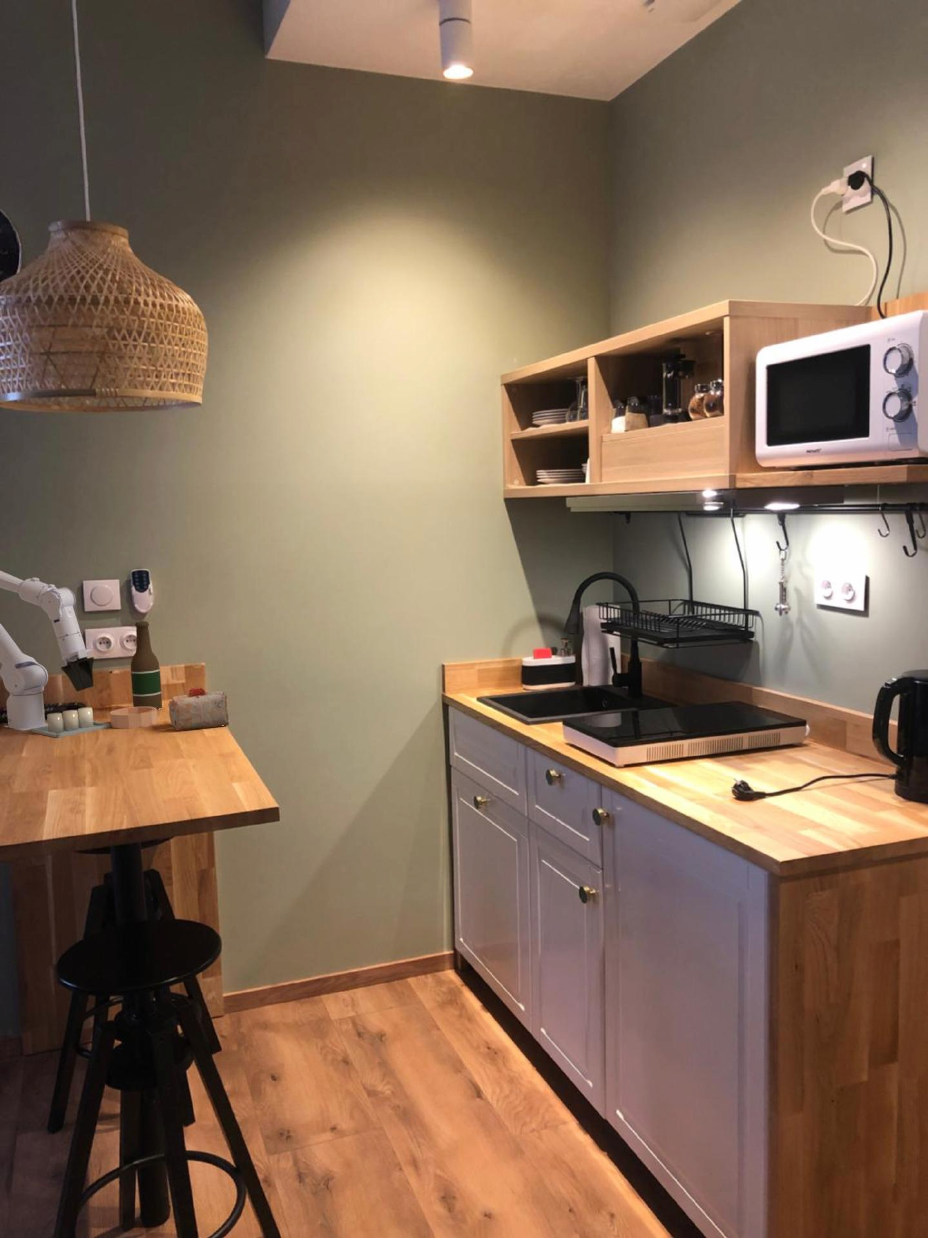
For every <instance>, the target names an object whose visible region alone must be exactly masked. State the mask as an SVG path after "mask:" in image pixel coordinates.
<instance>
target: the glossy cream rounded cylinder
mask: <svg viewBox="0 0 928 1238" xmlns="http://www.w3.org/2000/svg"><path fill="white" fill-rule="evenodd" d="M62 720H63V724H64V731H73V730H77V729H79V726H78V720H79V719H78V709H70V710H64V711H62Z"/></svg>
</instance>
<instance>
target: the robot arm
mask: <svg viewBox="0 0 928 1238" xmlns="http://www.w3.org/2000/svg"><path fill="white" fill-rule="evenodd" d="M0 589H2V590H7V591H10V592H13V593H16V594H18V595H19V598H20V599H21V600H22V601H24V602H28V603H30V604H32V605H34V606H35V605H36V606H38V607H40V608H42V610H43V611H44V613H46V614H47V616H48V619H49V620H50V621H51V625H52V628H53V630H54V635H55V636H56V640H57V644H58V646H59V651H60V653H61V654H60V655H61V660H62V661H64V665H65V666H61V667H60V669H61V671H62V672H63V673H64V674H65V675H66V676H67V677H68V679H69V680H70V682H71V684H72V686H73V688H74V690H75V691H76V692H80V691H83V690H86V689H90V688H93V687H94V673H93V666H94V662H95V661H94V660H95V657H94V656H92V657H89V658H88V653H91V652H92V648H88V649H86V645H85V642H84V639H83V635H82V633H81V629H80V625H79V622H78V618H77V616H76V612H75V610H74V609H75V608H74V607H75V606H76V602H77V600H76V595H75V593H74V592H73V591H72V590H71V589H69V588H68V587H64V586H63V587H59V588H57V587H56V585H55V584H51V583H50V584H48V583H45V582H42V581H40V578H38V577H32V578H27V579H25V580H24V579H21V578H18V577H16V576H14V575H11V574H9V573H6V572H4V571H3V570H0ZM0 664H1V668H0V678H1V679H2V683H3V686H4V688H5V689H6V691H7V692H8V693H9V695H8V698H7V700H6V716H7V725H9V726H7V725H4V727H5V728H8V727H9V729H12V728H13V730H17V731H28V730H31V729H33V728H38V727H44V726H48V722H46V718H45V717H46V716H45V706H44V695H43V694H44V693H43V692H44V691H45V687H46V685H47V684H48V681H49V674H48V673H49V672H48V671H47V668H45V666H43V665H42V664H40V663H39V662H38V661H37V660H36V659H35V658H34V657H32V656H29V655H27V654H25V653H23V652H22V651H21V649H20V648H19V647H18V645H17V644H16V643H15V641H14V639H13V638H12V637H11V635H10V634H9V633H8V631H7V630H6V628H5V627H4V626H3V625H2V624H1V623H0Z"/></svg>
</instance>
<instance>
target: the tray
mask: <svg viewBox="0 0 928 1238" xmlns="http://www.w3.org/2000/svg"><path fill="white" fill-rule="evenodd" d="M93 724H94V726H93V727H88V728H79V729H77V730H73V731H64V724H63V732H62V733H58V734H56V733H52V732H48V726H44V727H38V728H33V729H30V732H31V733H34V734H39V735H41V736H42V735H43V736H48V737H52V738H55V739H56V738H57V739H60V738H64V737H70V736H74V735H79V734H84V733H89V732H94V731H95V732H96V731H100V730H105V729H109V728H112V727H111V723H105V722H101V721H96V720H93ZM78 726H79V719H78Z"/></svg>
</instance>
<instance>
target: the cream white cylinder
mask: <svg viewBox="0 0 928 1238" xmlns="http://www.w3.org/2000/svg"><path fill="white" fill-rule="evenodd" d="M93 712H94V711H93V707H91V706H90V707H80V708H78V709H77V713H78V720H79V728H88V727H93V726H94V724H93V721H94V713H93Z"/></svg>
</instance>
